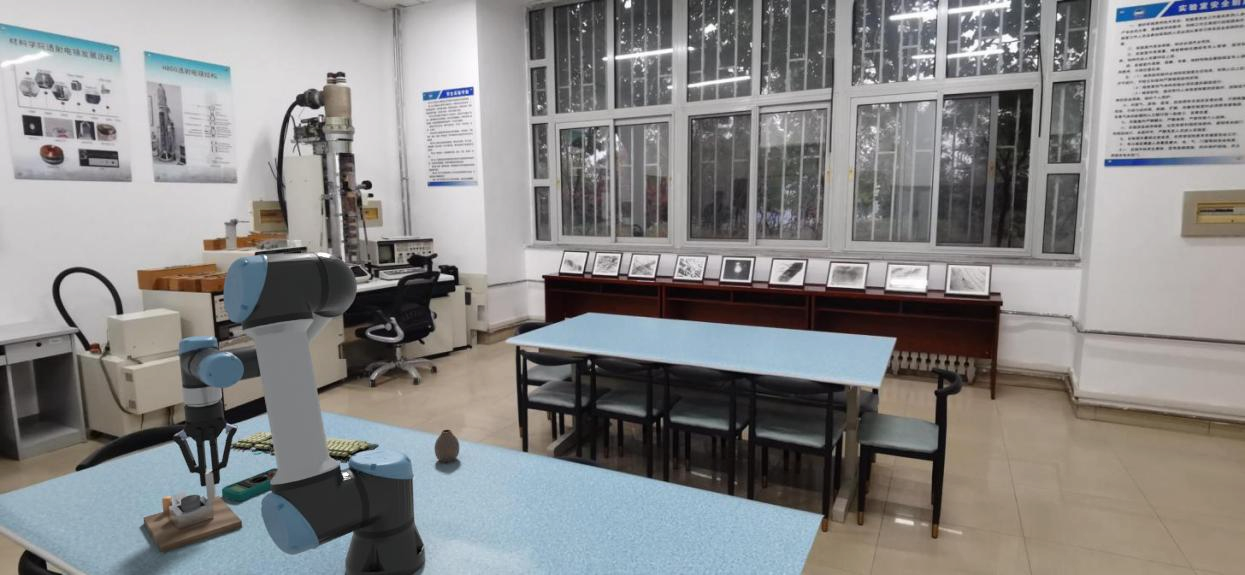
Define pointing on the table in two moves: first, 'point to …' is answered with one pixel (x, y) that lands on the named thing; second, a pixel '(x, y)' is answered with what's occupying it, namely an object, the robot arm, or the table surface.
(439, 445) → the vase
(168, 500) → the dowel pin
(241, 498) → the digital multimeter
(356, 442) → the keyboard
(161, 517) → the board
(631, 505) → the table surface
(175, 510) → the grey frame piece
